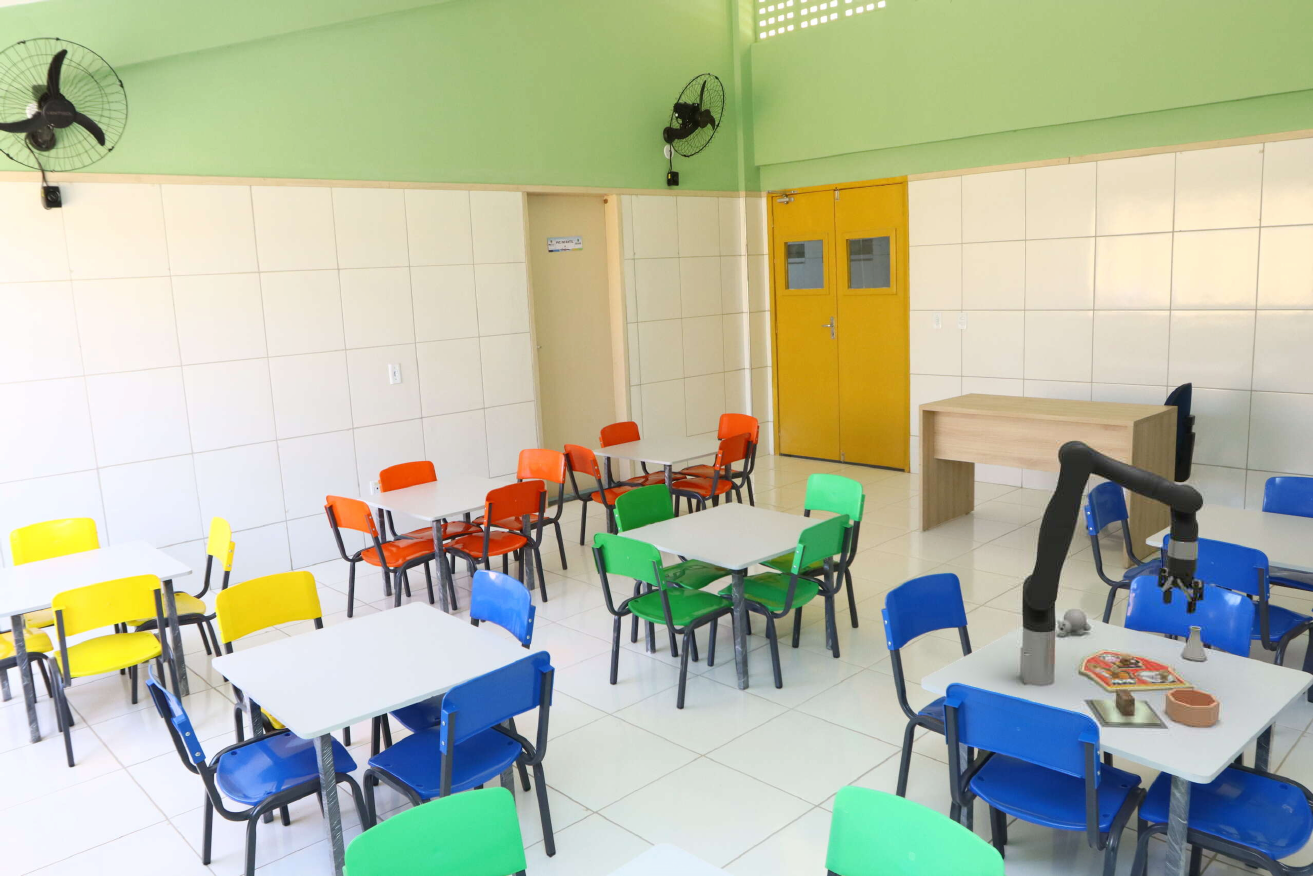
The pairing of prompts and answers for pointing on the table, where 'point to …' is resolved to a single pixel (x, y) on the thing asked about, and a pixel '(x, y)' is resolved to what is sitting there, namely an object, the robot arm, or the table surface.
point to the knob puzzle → (1130, 672)
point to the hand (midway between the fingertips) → (1178, 608)
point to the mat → (1102, 723)
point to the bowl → (1192, 707)
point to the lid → (1125, 710)
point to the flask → (1194, 646)
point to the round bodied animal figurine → (1073, 623)
